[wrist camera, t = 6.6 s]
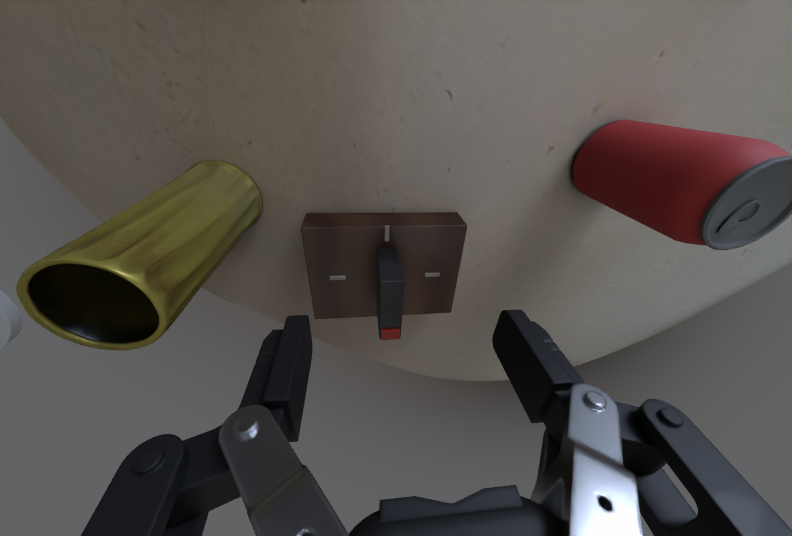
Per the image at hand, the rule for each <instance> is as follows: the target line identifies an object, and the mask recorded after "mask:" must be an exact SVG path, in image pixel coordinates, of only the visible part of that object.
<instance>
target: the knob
mask: <svg viewBox="0 0 792 536" xmlns="http://www.w3.org/2000/svg"><path fill="white" fill-rule="evenodd" d="M404 282H405V281H404V276H403V272H402V268H401V264H400V260H399V255H398V251H397V248H377V249H376V306H377V318H378V329H379V338H380V339H381V340H388V339H399V338H400V337H401V323H402V310H403V296H404Z"/></svg>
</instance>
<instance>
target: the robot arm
mask: <svg viewBox="0 0 792 536" xmlns="http://www.w3.org/2000/svg"><path fill="white" fill-rule="evenodd" d="M492 342H493V347H494V350H495V352H496V354H497V356H498V358H499V360H500V362H501V364H502V366H503V368H504V370H505V372H506V374H507V376H508V378H509V380H510V382H511V384H512V386H513V388H514V390H515V392H516V393H517V395H518V397H519V399H520V401H521V403H522V405H523V407H524V409H525V411H526V413H527V415H528V417H529V419H530V421H531V423H540V422H544V424H545V426H546V430H545V432H544V436H543V444H542V450H541V456H540V464H539V470H538V476H537V481H536V485H535V487H534V490H533V492H532V495H531V499H527V498H524V497H522V496H520V495H519V492H518V490H517V487H516V485H511V486H502V487H493V488H485V489H482V490H480V491H478V492H476V493H474V494H472V495H470V496H468V497H466V498H464V499H462V500H460V501H458V502H456V503H445V502H440V501H435V500H431V499H426V498H421V497H416V496H413V497H404V498H395V499H385V500H380V505H379V511H377V512H374V513H372V514H370V515H369V516H368V517H366V518H364V519H363V520H362V521H361V522H360V523H359V524H357V525H356V526H355V527H354V528H353V530H352V531H351V532H350V533H349V534H348V532H347V531H346V529H345V527H344V526H343V524H342V522H341V521H340V519H339V517H338V516H337V514H336V513H335V511H334V509H333V508H332V506H331V505H330V503H329V501H328V499H327V498H326V496H325V495H324V493H323V491H322V490H321V488H320V486H319V485H318V483H317V481H316V480H315V478H314V477H313V475H312V473H311V472H310V471H309V469H308V468H307V467H306V466H305V465H303V464H302V463H301V462H300V460H299V458H298V457H297V455H296V453H295V452H294V450H293V449H292V447H291V445H290V443H289V442H296V441H298V438H299V432H300V426H301V420H302V414H303V407H304V401H305V395H306V389H307V383H308V377H309V370H310V365H311V359H312V338H311V330H310V323H309V317H308V315H296V316H288V317H287V319H286V322H285V326H284V329H283V330H272V332H271V333H270V334H269V335H268V336H267V337H266V338H265V339H264V341H263V343H262V346H261V349H260V352H259V355H258V357H257V360H256V365H255V366H254V368H253V371H252V374H251V377H250V380H249V382H248V385H247V388H246V390H245V393H244V396H243V399H242V401H241V404H240V406H239V408H238V410H237V411H235V412H234V413H232V414H231V415H230V416H229V417H228V418H227V419H226V421H225V422H224V423H223V424H222V425H221V426H219V427H217V428H215V429H213V430H211V431H208V432H206V433H203V434H200V435H197V436H194V437H192V438H189V439H186V440H183V441H182V440H181V439H180V438H179V437H178V436H176V435H172V434H164V435H159V436H156V437H153V438H151V439H149V440H147V441H145V442H144V443H142V444H141V445H139V446H138V447H136V448H135V449H134V450H133V451H132V452H131V453H130V454H129V455H128V456H127V457H126V458H125V459H124V461H123V462H122V463H121V465H120V467H119V469H118V470H117V472H116V474H115V476H114V478H113V479H112V481H111V483H110V484H109V486H108V488H107V490H106V492H105V494H104V495H103V497H102V499H101V501H100V502H99V504H98V506H97V508H96V510H95V511H94V513H93V515H92V517H91V519H90V521H89V522H88V524H87V526H86V528H85V529H84V531H83V533H82V535H81V536H202V533H203V530H204V526H205V523H206V520H207V516H208V512H209V511H210V510H213V509H214V508H217V507H219V506H221V505H223V504H225V503H228V502H230V501H232V500H234V499H236V498H239V497H242V499H243V502H244V504H245V507H246V509H247V514H248V517H249V519H250V522H251V525H252V527H253V529H254V532H255V534H256V536H642V527H641V518H640V513H641V515H642V517H643V518H644V520H645V522H646V523H647V525H648V526H649V528H650V530H651V531H652V533H653V535H654V536H792V530H791V529H790V528H789V526H788V525H787V524H786V523H785V522H784V521H783V520H782V519H781V518H780V517H779V516H778V514H777V513H776V512H775V511H774V510H773V509H772V508H771V507H770V506H769V505H768V504H767V503H766V501H765V500H764V499H763V498H762V497H761V496H760V495H759V494H758V493H757V492H756V491H755V490H754V488H753V487H752V486H751V485H750V484H749V483H748V482H747V481H746V480H745V479H744V478H743V477H742V476H741V474H740V473H739V472H738V471H737V470H736V469H735V468H734V467H733V466H732V465H731V464H730V463H729V461H728V460H727V459H726V458H725V457H724V456H723V455H722V454H721V453H720V452H719V451H718V449H717V448H716V447H715V446H714V445H713V444H712V443H711V442H710V441H709V440H708V439H707V438H706V436H705V435H703V433H702V432H701V431H700V430H699V429H698V428H697V427H696V426H695V425H694V424H693V422H692V421H691V420H690V419H689V418H688V417H687V416H686V415H685V414H684V413H682V412H681V411H680V410H679V409H677V408H676V407H674V406H672V405H670V404H668V403H666V402H664V401H661V400H657V399H648V400H646V401H645V402H644V403H643V404H642V405H641V406H640V407H636V406H632V405H627V404H623V403H619V402H615V401H613V399H612V398H611V397H610V396H609V395H608V394H606V393H605V392H604V391H603V390H601V389H599V388H598V387H596V386H593V385H590V384H586V383H585V382H584V381H583V380H582V378H581V377H580V376H579V374H578V373H577V372H576V370H575V369H574V368H573V366H572V365H571V364H570V362H569V361H568V360H567V358H566V357H565V356H564V354H563V353H562V352H561V351H559V348H558V346H557V345H556V344H555V342H553V340H552V338H551V337H550V336H549V334H548V333H547V332H546V330H544V329H543V328H542V327H541V326H539V325H538V324H537V323H535V322H531V321H530V320H529V318H528V317H527V316H526V314H525V313H524V312H523V311H522V310H503V311H502V312H501V314H500V316H499V319H498V322H497V325H496V328H495V331H494V334H493V339H492ZM666 463H667V464H668V465H669V466H670V468H671V469H672V470H673V472H674V473H675V474H676V476H677V477H678V478H679V480H680V481H681V482H682V484H683V485H684V486H685V488H686V489H687V490H688V492H689V493H690V494H691V495H692V497H693V498H694V500H695V502H696V504H697V507H698V515H696V514H695V512H694V511H693V509H692V508H691V507H690V505H689V504H688V503H687V502H686V500H685V499H684V497H683V496H682V494H681V493H680V492H679V490H678V489H677V488H676V486H675V485H674V484H673V482H672V481H671V480H670V478H669V477H668V476H667V474H666V473H665V471H664V470H663V469H662V467H663V466H664V465H665V464H666Z"/></svg>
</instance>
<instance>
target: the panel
mask: <svg viewBox="0 0 792 536" xmlns="http://www.w3.org/2000/svg"><path fill="white" fill-rule="evenodd" d="M466 229H467V225H466V223H465V222H464V221H463V219H462V218H461V217H460V215H459V214H458V213H320V214H306V216H305V219H304V221H303V224H302V227H301V231H302V238H303V244H304V251H305V257H306V264H307V270H308V277H309V283H310V290H311V296H312V303H313V309H314V316H315V319H325V318H346V317H367V316H377V306H376V249H377V248H397V251H398V255H399V260H400V264H401V268H402V272H403V276H404V281H405V282H404V296H403V310H402V315H408V314H429V313H449V312H451V309H452V304H453V298H454V293H455V288H456V283H457V277H458V272H459V267H460V261H461V256H462V251H463V245H464V240H465V235H466Z"/></svg>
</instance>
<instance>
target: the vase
mask: <svg viewBox="0 0 792 536" xmlns="http://www.w3.org/2000/svg"><path fill="white" fill-rule="evenodd" d="M261 212H262V199H261V195H260V192H259V190H258V188H257V186H256V185H255V183H254V182H253V181H252V180H251V178H250V177H249V176H248V175H247V174H245V173H244V172H243V171H241V170H240V169H238V168H237V167H235V166H233V165H230V164H228V163H225V162H221V161H212V160H210V161H201V162H198V163H197V164H195V165H193V166H192V167H190V168H189V169H188V170H187V171H186V172H185V173H184V174H182V175H181V176H179V177H178V178H176V179H174V180H173V181H171V182H170V183H168V184H167V185H166V186H164V187H162V188H161V189H159V190H157V191H156V192H154V193H152V194H151V195H149V196H148V197H146V198H144V199H143V200H141V201H139V202H138V203H136V204H134V205H133V206H131V207H129V208H128V209H126V210H125V211H123V212H122V213H120V214H118V215H116V216H115V217H113V218H111V219H110V220H108V221H107V222H105V223H103V224H101V225H99V226H97V227H96V228H94V229H92V230H91V231H89V232H87V233H86V234H84V235H82V236H81V237H79V238H77V239H75V240H73V241H71V242H70V243H68V244H66V245H64V246H63V247H61V248H59V249H57V250H56V251H54V252H52V253H51V254H49V255H47V256H46V257H44V258H42V259H41V260H39V261H37V262H35V263H34V264H32V265H31V266H29V267H28V268H27V269H26V270H25V271H24V272H23V273H22V274H21V276H20V278H19V281H18V283H17V288H16V290H17V295H18V297H19V299H20V301H21V303H22V305H23V307H24V308H25V310H26V312H27V313H28V314H29V316H30V317H31V318H33V319H34V320H35V321H36V322H37V323H39V324H40V325H41V326H43V327H44V328H46V329H47V330H49V331H50V332H52V333H54V334H55V335H57V336H60V337H62V338H64V339H67V340H69V341H72V342H75V343H78V344H80V345H84V346H88V347H93V348H97V349H106V350H131V349H137V348H141V347H144V346H147V345H149V344H151V343H153V342H155V341H156V340H158V339H159V338H160V337H161V336H162V335H163V334H164V333H165V332H166V331H167V329H168V328H169V327H170V326H171V325H172V323H173V322H174V321H175V320H176V318H177V317H178V316H179V315H180V313H181V312H182V311H183V310H184V308H185V307H186V306H187V304H188V303H189V301H190V300H191V299H192V297H193V296H194V295H195V294H196V292H197V291H198V290H199V289H200V287H201V286H202V285H203V284H204V283H205V281H206V280H207V279H208V278H209V277H210V275H211V274H212V273H213V272H214V270H215V269H216V268H217V267H218V266H219V265H220V263H221V262H222V261H223V260H224V258H225V257H226V256H227V255H228V253H229V252H230V251H231V250H232V249H233V247H234V246H235V245H236V243H237V242H238V241H239V239H240V238H241V236H242V234H243V233H244V232H245V230H247V229H249V228H250V227H251V226H253V225H254V224H255V223H256V222H257V220H258V219H259V217H260V215H261Z"/></svg>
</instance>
